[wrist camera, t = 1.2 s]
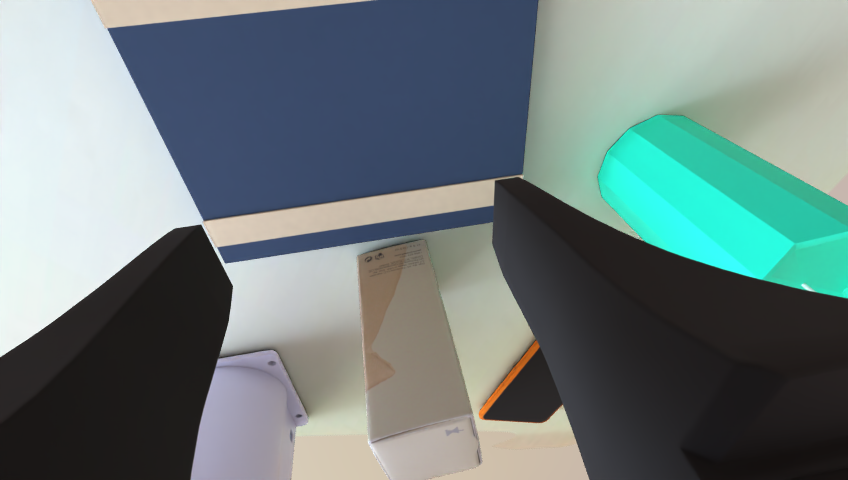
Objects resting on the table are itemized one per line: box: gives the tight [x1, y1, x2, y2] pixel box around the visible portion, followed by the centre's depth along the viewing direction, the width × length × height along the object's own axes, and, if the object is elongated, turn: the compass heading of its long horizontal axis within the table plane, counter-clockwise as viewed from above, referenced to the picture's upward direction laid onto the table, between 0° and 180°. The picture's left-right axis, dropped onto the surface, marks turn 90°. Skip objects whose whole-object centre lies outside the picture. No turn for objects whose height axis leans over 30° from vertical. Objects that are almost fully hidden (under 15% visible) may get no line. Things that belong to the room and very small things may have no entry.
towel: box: [91, 0, 538, 263], centre depth 18 cm, size 14×16×1 cm
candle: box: [598, 115, 848, 298], centre depth 19 cm, size 6×6×12 cm
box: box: [357, 240, 482, 480], centre depth 21 cm, size 5×4×11 cm
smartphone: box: [479, 340, 563, 423], centre depth 33 cm, size 8×17×1 cm, turn 158°
